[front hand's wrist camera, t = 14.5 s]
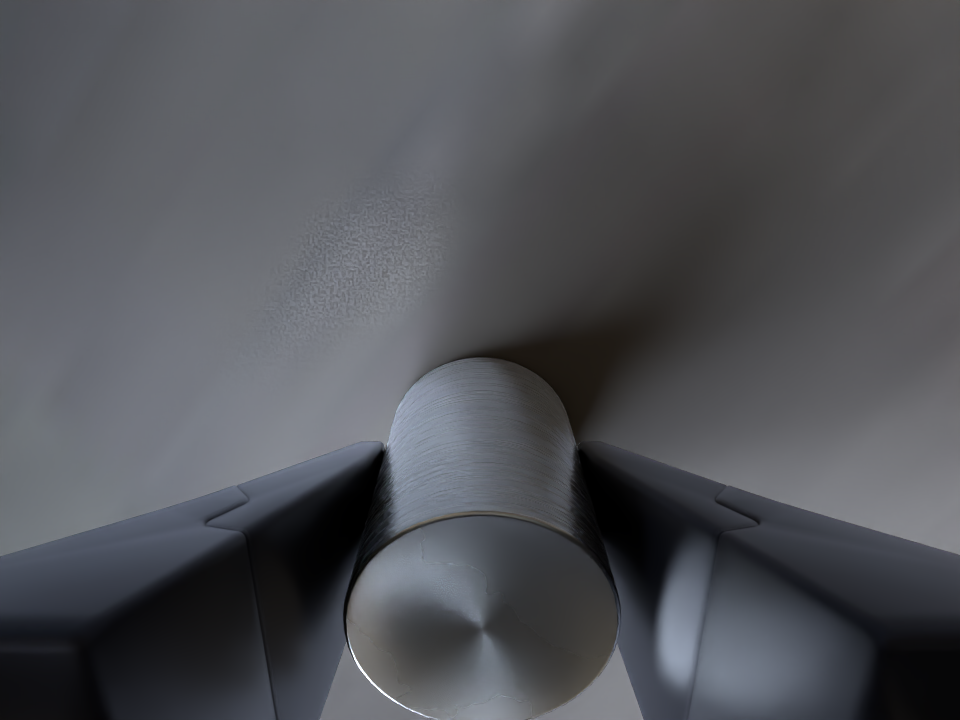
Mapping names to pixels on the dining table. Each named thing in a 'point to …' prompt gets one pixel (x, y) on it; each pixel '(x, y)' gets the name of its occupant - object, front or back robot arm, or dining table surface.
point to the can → (481, 553)
